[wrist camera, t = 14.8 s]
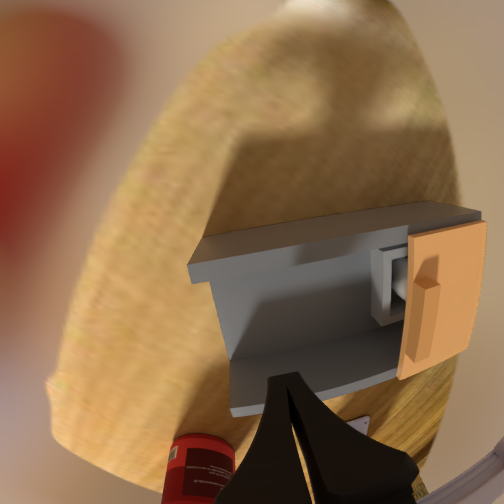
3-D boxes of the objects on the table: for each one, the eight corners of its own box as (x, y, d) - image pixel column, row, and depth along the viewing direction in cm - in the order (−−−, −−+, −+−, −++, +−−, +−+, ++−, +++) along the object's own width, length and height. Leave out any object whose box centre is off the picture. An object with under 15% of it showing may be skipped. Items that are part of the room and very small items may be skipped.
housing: (424, 313, 22) (463, 345, 16) (232, 362, 22) (233, 417, 16) (429, 200, 19) (481, 211, 13) (202, 237, 19) (186, 264, 13)
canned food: (183, 464, 26) (176, 531, 16) (161, 432, 24) (145, 511, 14) (240, 462, 26) (245, 532, 16) (226, 429, 24) (227, 516, 14)
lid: (463, 344, 16) (476, 355, 14) (396, 375, 15) (407, 391, 14) (480, 220, 13) (499, 225, 11) (407, 235, 13) (427, 243, 11)
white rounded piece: (417, 284, 20) (452, 307, 15) (387, 297, 20) (421, 325, 15) (415, 250, 19) (454, 268, 14) (384, 262, 19) (421, 284, 14)
